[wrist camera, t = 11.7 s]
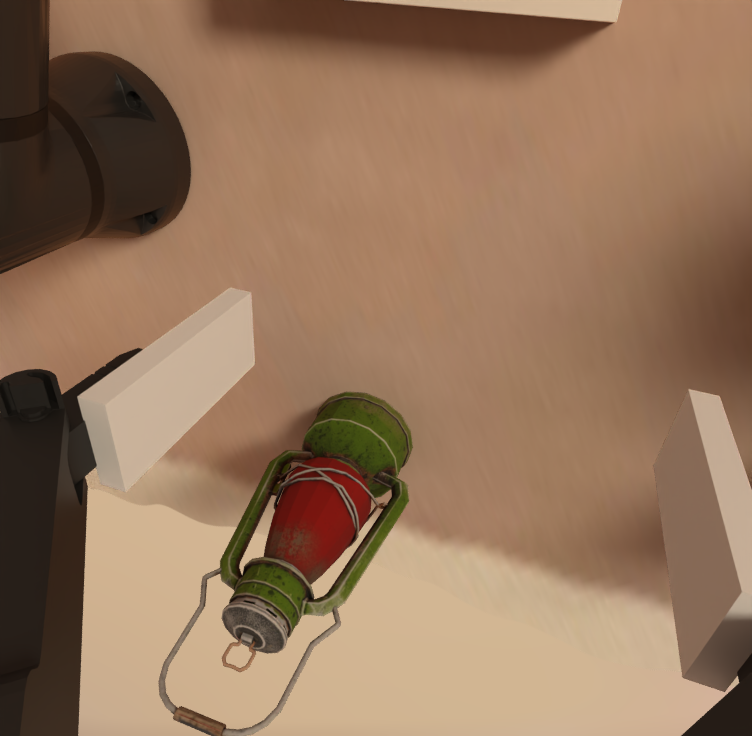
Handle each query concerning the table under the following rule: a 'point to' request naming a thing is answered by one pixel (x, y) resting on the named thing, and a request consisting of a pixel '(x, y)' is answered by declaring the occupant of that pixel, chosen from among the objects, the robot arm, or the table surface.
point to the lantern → (308, 534)
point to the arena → (526, 7)
